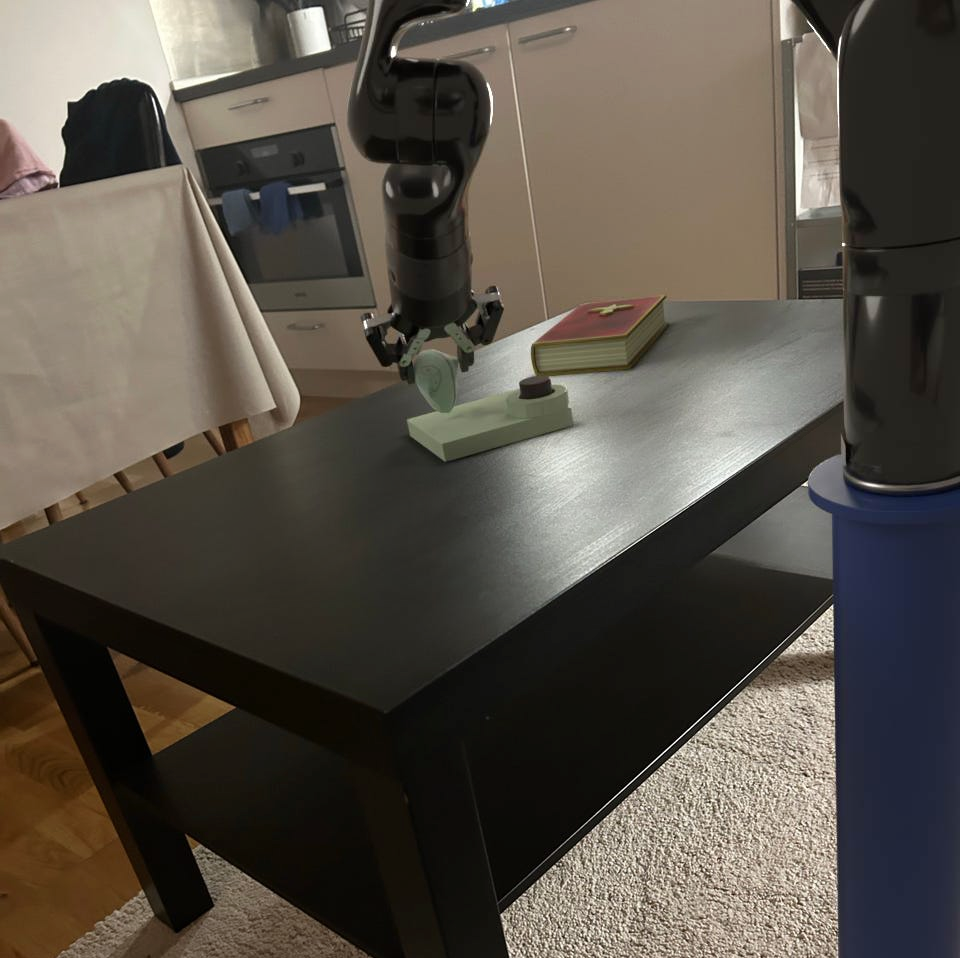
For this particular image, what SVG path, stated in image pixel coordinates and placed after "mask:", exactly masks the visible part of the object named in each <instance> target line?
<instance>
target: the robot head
mask: <svg viewBox="0 0 960 958" xmlns="http://www.w3.org/2000/svg"><path fill="white" fill-rule="evenodd" d="M458 367H459V362H458V357H457V356H455V355H451V354H447V353H445V352H442V351H439V350H436V349H424V350H422V351H421V352H419V353H418V355H417V356H416V358H415V360H414V361H413V368H414V380H415V384H416V386H417V388H418V390H419V392H420V394H421V395H422V396H423V398H424V399H425V400H426V402H427V403H428V404H429V406H430V407H431V408H432V409H433V410H435V411H439V412H440V413H450V411H451V410H452V409H453V407H454V406H456V402H457V399H458Z"/></svg>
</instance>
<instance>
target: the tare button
mask: <svg viewBox="0 0 960 958" xmlns="http://www.w3.org/2000/svg"><path fill="white" fill-rule="evenodd" d="M552 385H553V384H552V379H551V376H550V375H549V376H536V375H534V376H529V377H525V378H523V379H521V380H520V381H519V382H518V386H519V389H520V393H521V399H537V398H542V397H545V396H549V395H551V394H553V392H552Z"/></svg>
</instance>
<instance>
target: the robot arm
mask: <svg viewBox="0 0 960 958" xmlns="http://www.w3.org/2000/svg"><path fill="white" fill-rule="evenodd" d="M790 2H791V3H792V4H793V6H794V7H795V8H796V9H797V10H798V11H799V13H800V14H801V15H802V17H804V19H805V20H806V21H807V23H808V24H809V25H810V27H811V28H812V29H813V30H814V32H815V33H816V35H817V36H818V37H819V38H820V40H821V41H822V43H823V44H824V46H826V48H827V50H828V51H829V53H831V56H832V57H833V58H834V60H835V61H836V62H837V115H838V118H837V119H838V120H837V121H838V127H837V128H838V167H839V169H838V171H839V172H838V173H839V176H838V180H839V181H838V183H839V185H838V186H839V203H840V213H841V235H842V236H841V244H842V248H841V249H842V322H843V323H842V339H843V340H842V343H843V344H842V345H843V346H842V347H843V348H842V350H843V353H842V354H843V355H842V356H843V360H842V361H843V434H840V454H842V456H843V459H844V464H843V480H844V482H845V483H846V484H847V485H849V486H850V487H852V488H854V489H856V490H858V491H861V492H865V493H869V494H874V495H881V496H892V497H912V496H925V495H932V494H938V493H943V492H947V491H951V490H954V489H957V488H960V0H790ZM469 3H470V0H367V8H366V16H365V21H364V28H363V33H362V38H361V42H360V47H359V52H358V56H357V60H356V63H355V68H354V71H353V76H352V80H351V83H350V88H349V92H348V99H347V104H346V124H347V131H348V134H349V138H350V139H351V141H352V144H353V145H354V148H355V149H356V150H357V152H358V153H359V154H360V156H361V157H363V158H364V159H365V160H367V161H369V162H371V163H373V164H384V165H389V166H388V167H387V168H386V170H385V171H384V174H383V176H382V181H381V201H382V208H383V209H382V210H383V217H384V228H385V237H384V239H385V241H384V250H385V259H386V260H385V261H386V267H387V276H388V277H387V278H388V284H389V293H390V300H391V301H390V305H389V306H388V307H387V310H386V313H383V314H381V315H378V316H374V314H373V313H371V312H364V313H363V314H361V315H360V321H361V325H362V329H363V333H364V337H365V340H366V342H367V343H368V346H369V347H370V349H371V350H372V353H373V354H374V356H375V357H376V359H377V361H378V363H379V364H380V366H381V367H383V368H388V367H389V368H390V367H391V366H392V365H393V364H396V367H397V371H398V374H399V378H400V380H401V381H402V382H405V381H406V382H407V385H414V384H416V382H415V380H414V368H413V366H414V361H413V359H414V357H415V356H416V355H417V356H418V355H419V354H420V351H421V349H422V347H423V345H424V344H425V343H428V342H431V341H433V340H436V339H446V338H451V339H452V340H453V342H454V343H455V344H456V357H458V366H459V369H460V372H461V373H462V374H463V373H467V372H469V369H470V368H469V367H473V365H474V364H475V350H476V347H477V346H478V345H480V344H481V345H482V346H488V345H489V346H490V345H491V344H492V343H493V341H494V338H495V335H496V333H497V331H498V330H497V329H498V327H499V325H500V322H501V319H502V316H503V314H504V310H505V307H504V304H503V301H502V298H501V294H500V292H499V288H498V286H497V285H490V286H488V287H487V288H486V289H485V291H484V293H479V294H478V293H476V294H475V293H474V291H473V289H472V286H473V285H472V281H473V280H472V279H473V276H472V275H473V273H472V269H473V267H472V266H473V263H474V253H473V249H472V238H471V237H472V236H471V233H470V228H469V194H470V188H471V183H472V180H473V177H474V174H475V171H476V169H477V166H478V165H479V163H480V159H481V158H482V155H483V152H484V150H485V148H486V147H485V146H486V145H487V141H488V138H489V134H490V132H491V131H490V130H491V126H492V121H493V110H494V108H493V107H494V105H493V95H492V90H491V88H490V84H489V82H488V81H487V79H486V77H485V75H484V73H483V72H482V71H481V70H480V69H479V68H478V67H477V66H476V65H474V64H473V63H472V62H469V61H467V60H463V59H455V58H454V59H453V58H439V59H438V58H435V57H432V58H431V57H410V56H409V57H405V56H398V55H397V53H398V48H399V45H400V41H401V39H402V38H403V36H404V35H405V33H407V31H409V30H410V29H411V28H413V27H415V26H418V25H420V24H425V23H429V22H434V21H440V20H445V19H449V18H455V17H457V16H459V15H461V14H462V13H464V12H465V11H466V9H467V7H468V5H469ZM476 310H478V313H477V316H476V318H475V321H474V325H472V326H470V325H468V323H467V321H468V320H469V319H470V317H471V316H472V315H474V313H476ZM390 328H392V329H393V330H395V331H397V332H398V333H397V335H396V337H395V340H394V342H393V343H391V342H390V343H389V342H388V340H387V338H386V336H388V333H389V332H388V330H389V329H390ZM842 435H843V436H842Z"/></svg>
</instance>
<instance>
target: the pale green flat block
mask: <svg viewBox="0 0 960 958" xmlns="http://www.w3.org/2000/svg"><path fill="white" fill-rule="evenodd" d="M551 385H552V392H553V394H551V395H549V396H545V397H542V398H537V399H521V393H520V388H516V389H513V390H509V391H505V392H502V393H498V394H495V395H491V396H488V397H487V396H486V397H484V398H480V399H477V400H473V401H469V402H465V403H462V404H458V405H454V407H453V409H452V410H451V411H450V413H440V412H439V411H437V410H435V411H433V412H428V413H425V414H422V415H418V416H415V417H410V418H407V419H406V422H407V423H406V424H407V428H408V432H409V436H410V437H411V438H412V439H414V440H415V441H416V442H418V443H419V444H420V445H422V446H423V447H425V448H426V449H427V450H428V451H430V452H431V453H432V454H434V455H435V456H437V457H438V458H439V459H441V460H442V461H443V462H444V463H447V462H450V461H451V462H452V461H454V460H458V459H461V458H465V457H469V456H472V455H475V454H478V453H482V452H486V451H489V450H493V449H496V448H499V447H503V446H508V445H510V444H514V443H517V442H520V441H524V440H527V439H531V438H534V437H538V436H541V435H544V434H548V433H551V432H555V431H559V430H562V429H565V428H569V427H573V426H574V421H573V420H574V419H573V412H572V407H571V406H569V404H570V397H569V392H568V391H569V390H568V388H567V386H564V385H562V384H551Z"/></svg>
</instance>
